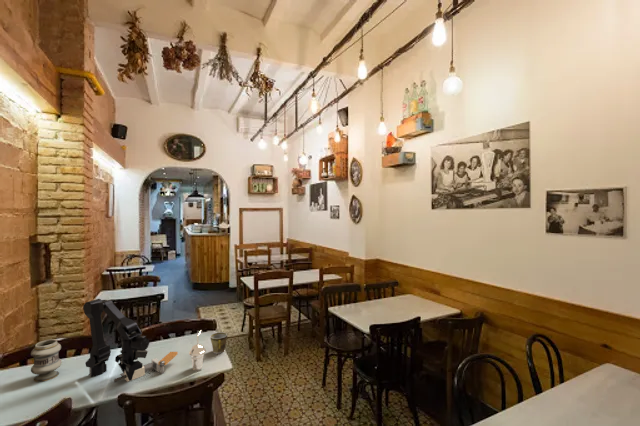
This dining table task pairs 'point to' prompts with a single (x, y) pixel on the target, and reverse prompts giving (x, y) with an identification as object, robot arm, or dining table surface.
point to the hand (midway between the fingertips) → (128, 378)
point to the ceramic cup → (218, 342)
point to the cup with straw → (197, 355)
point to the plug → (136, 374)
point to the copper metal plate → (167, 358)
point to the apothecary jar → (46, 360)
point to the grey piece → (154, 366)
